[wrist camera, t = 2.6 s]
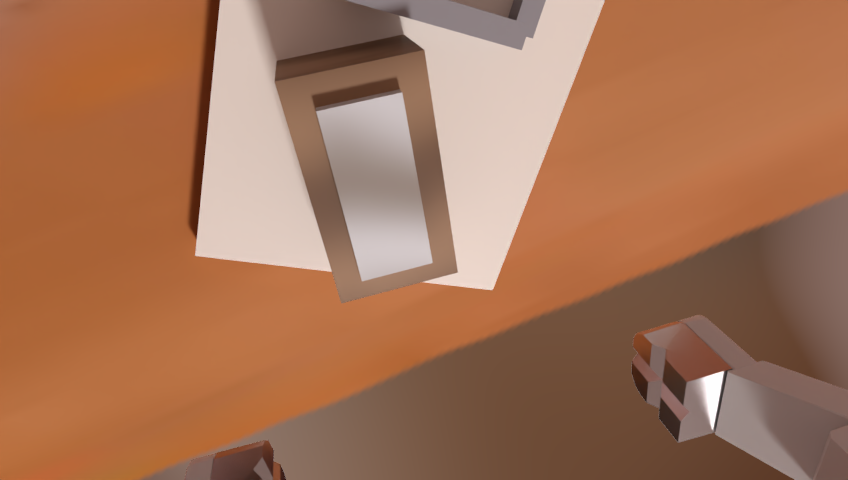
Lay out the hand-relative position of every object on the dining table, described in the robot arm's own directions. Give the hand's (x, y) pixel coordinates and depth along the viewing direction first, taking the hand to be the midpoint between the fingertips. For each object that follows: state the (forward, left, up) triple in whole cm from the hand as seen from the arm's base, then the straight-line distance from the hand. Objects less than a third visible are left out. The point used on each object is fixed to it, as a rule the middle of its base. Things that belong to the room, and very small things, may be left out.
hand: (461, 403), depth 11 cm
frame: (0, 0, -16) cm, 16 cm away
